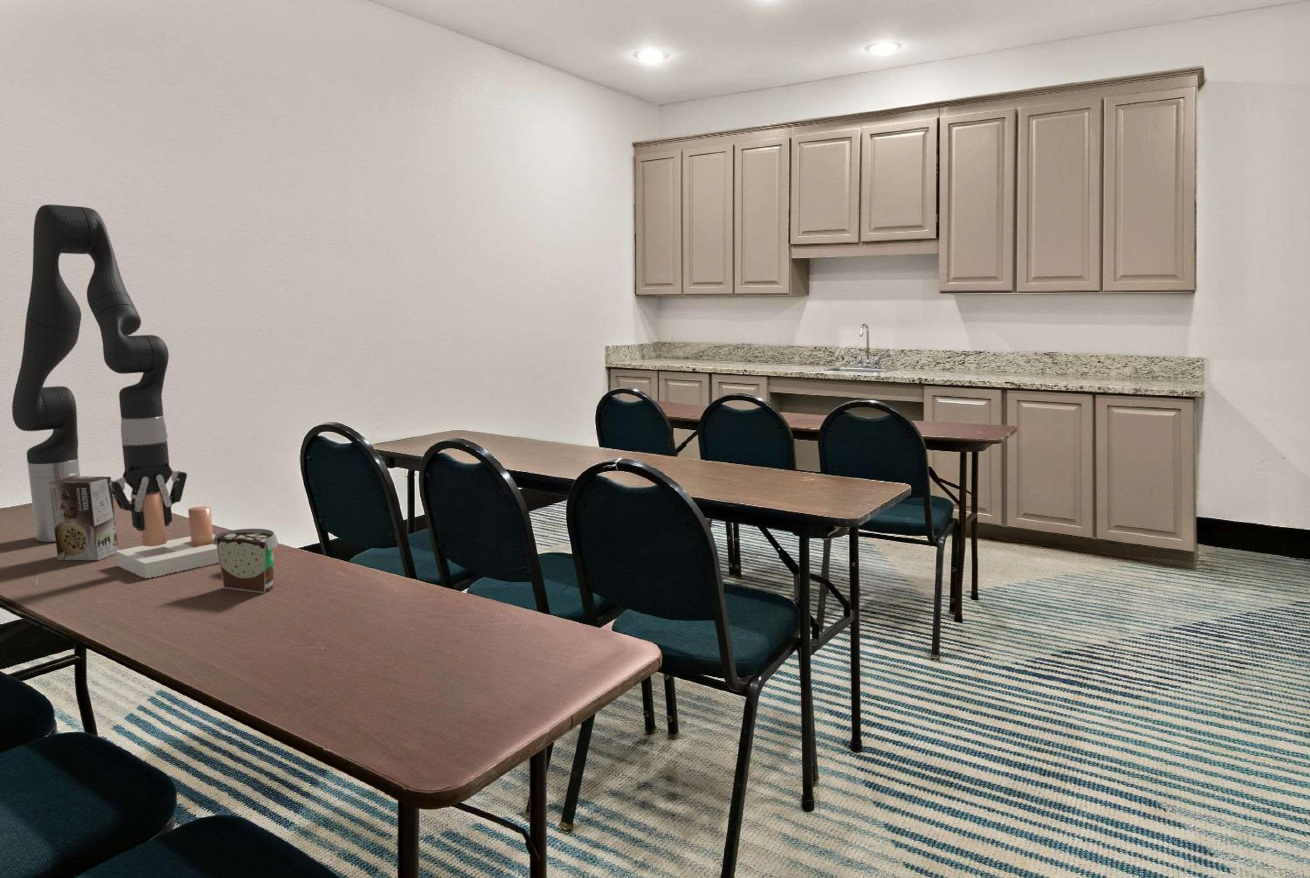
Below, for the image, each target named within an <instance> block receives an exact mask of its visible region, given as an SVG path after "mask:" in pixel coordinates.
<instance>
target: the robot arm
mask: <svg viewBox="0 0 1310 878" xmlns="http://www.w3.org/2000/svg"><path fill="white" fill-rule="evenodd" d="M32 244H33V247H32V249H33V250H32V276H31V284H30V292H29V299H28V305H27V311H26V318H25V325H24V326H25V327H24V335H23V336H24V338H23V339H24V340H23V348H22V349H23V350H22V356H21V357H22V358H21V362H20V368H19V371H18V375H17V381H16V384H15V387H14V392H13V398H12V404H11V413H12V420H13V422H14V425H15V426H16V427H17V428H18V429H19V430H21V431H23V432H40V431H47V430H49V431H50V430H52V433H51V435H50V436H49V437H48V438H47V439H45V440H44V441H41V442H40V443H38V444H36V445H34V446H32V447H30V448H28V450H27V451H26V461H27V469H28V476H29V478H28V479H29V485H30V486H29V487H30V494H31V502H32V503H31V505H32V514H33V521H34V531H35V539H36V541H38V542H44V543H49V542H56V539H55V531H54V523H53V515H52V507H51V499H50V491H49V483H50V482H54V481H57V480H60V479H63V478H67V477H81V473H80V464H79V463H80V462H79V453H78V451H79V450H78V449H79V437H78V434H79V433H78V413H77V409H78V408H77V404H76V403H77V402H76V398H75V396H74V393H73V392H72V390H71V389H69V387H67V386H59V385H56V386H44V384H45V383H46V380H47V378H48V376H49V375H50V374H51V373H52V371H53V370H54V369H55V368H56V367H57V366H58V365H59V364H60V363H61V362H62V361H63V360H64V359H65V358H66V357H67V356H68V355H69V354H70V352H72V350H73V349H74V348H75V346H76V344H77V343H78V340H79V339H78V338H79V335H80V328H81V320H82V311H81V307H80V305H79V303H78V301H77V300H76V297H74V295H73V294H72V291H70V290H69V287H68V286H67V284H66V283H65V281H64V280H63V279H64V278H63V277H62V275H61V273H60V272H61V271H60V268H59V267H60V266H59V261H60V256H61V254H67V255H68V254H69V255H70V254H72V255H74V254H75V255H88V256H89V257H91V259H92V261H93V263H94V268H93V271H92V274H91V277H90V279H89V282H88V285H87V288H86V298H87V299H86V300H87V304H88V306H89V308H90V310H91V313H92V315H93V316H94V319H95V321H96V323H97V324H98V327H99V330H100V335H101V340H102V351H103V359H104V363H105V365H106V366H107V367H108V368H109V370H111V371H113V372H114V373H117V374H122V375H124V374H125V375H126V374H140V373H142V376H141V378H140V379H139V382H137V383H134V384H132V385H128V386H124V387H122V388H121V389H120V391H119V394H118V401H119V410H120V418H121V419H120V420H121V421H120V434H121V435H120V437H121V444H122V445H121V446H122V456H123V466H124V472H123V474H122V477H120V478H117V479H115V480H111V481H109V482H108V486H109V488H110V490H111V492H112V494H113V499H114V500H115V501H116V503H117V505H118V507H119V508H120V509H121V510H123V511H127V512H128V511H130V513H131V521H132V524H131V525H132V527H133V528H135V530H137V531H139V532H142V531H143V530H144V529H145V528H144V517H143V512H142V511H141V509H142V504H143V500H144V499H145V494H147V493H150V492H160V493H161V495H162V500H163V510H164V521H165V527H169V526H170V523H172V521H173V516H172V513H173V512H172V506H173V505H174V504H176V503H180V502H181V500H182V497H183V492H184V489H185V485H186V481H187V477H188V474H187V472H184V471H180V470H177V471H176V470H173V469H172V467H170V458H169V447H168V432H167V426H166V422H165V417H164V410H163V409H164V408H163V397H162V394H163V388H164V383H165V377H166V373H167V369H168V364H169V357H170V356H169V355H170V354H169V348H168V346H167V344H166V343H165V341H164V340H163V339H162V338H161V337H160V336H157V335H155V334H154V335H153V334H144V335H143V334H142V335H140V334H139V335H133V334H134V333H136V332H137V331H138V330H139V329H140V327H141V325H142V320H141V317H140V314H139V312H138V310H137V309H136V306H135V304H134V302H133V301H132V299H131V297H130V294H129V293H128V291H127V288H126V287H125V284H124V281H123V279H122V275H121V272H120V269H119V266H118V262H117V259H116V255H115V251H114V249H113V246H112V241H111V239H110V236H109V232H108V229H107V226H106V225H105V222H104V219H103V218H102V216H101V215H100V214H99V212H98V211H97V210H95V209H94V208H90V207H87V206H86V207H85V206H76V205H65V204H64V205H61V204H43V205H41V206H40V207H39V208H38V209H37V212H36V214H35V217H34V225H33V243H32ZM170 479H171V481H172V486H171V489H170V493H169V491H168V488H167V483H168V482H169V480H170ZM125 484H127V485H128V486H129V487H130V488H131V492H130V502H129V499H128V498H127V495H126V493H125V492H124V490H125Z"/></svg>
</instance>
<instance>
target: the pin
mask: <svg viewBox="0 0 1310 878" xmlns="http://www.w3.org/2000/svg"><path fill="white" fill-rule="evenodd" d="M141 511H142V512H143V517H144V528H145V529H144V530H143V531H141V539H142V546H159V545H163V544H165V543H166V541H167V534H166V526H165V521H164V510H163V500H162V495H161V493H160V492H150V493H147V494H145V499H144V500H143V504H142V509H141Z"/></svg>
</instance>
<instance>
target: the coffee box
mask: <svg viewBox="0 0 1310 878" xmlns="http://www.w3.org/2000/svg"><path fill="white" fill-rule="evenodd" d="M109 481H112V477H111V476H80V477H67V478H63V479H60V480H57V481H54V482H50V483H49V491H50V499H51V507H52V515H53V523H54V531H55V539H56V541H55V546H56V555H57V560H58V561H101V560H102V559H106V558H108V557H111V556H114V555H116V551H118V550H119V545H118V543H119V542H118V536H117V525H116V514H115V504H114V496H113V494H112V492H111V490H110V488H109V486H108V482H109Z"/></svg>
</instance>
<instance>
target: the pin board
mask: <svg viewBox="0 0 1310 878" xmlns="http://www.w3.org/2000/svg"><path fill="white" fill-rule="evenodd" d="M211 508H212V507H211V506H195V507H191V508H188V510H187V512H188V522H189V523H188V524H189V536H185V537H181V538H175V539H170V540H169V539H168V540H166V543H165V544H163V545H159V546H143V545H140V546H139V545H138V546H134V547H129V548H124V549H123V548H122V549H118V551H116V554H115V559H116V560H115V561H116V567H119V568H122V569H123V570H126V571H128V572H129V573H132V574H134V573H135V574H134V575H137V576H139V577H141V578H143V577H144V578H143V579H145V578H146V580H148V579H147V578H150V579H152V578H151V577H154V578H157V576H159V577H161V576H162V575H163V576H167V575H166V574H168V575H170V574H169V573H172V574H174V573H173V572H177V573H180V571H181V572H184V571H183V570H185V571H188V570H189V569H190V570H194V569H197V567H199V568H203V567H208V566H211V565H215V564H216V563H217V564H219V558H218V551H217V545H214V537H215V533H213V524H212V523H213V522H212V511H211V510H212V509H211ZM193 568H194V569H193ZM190 570H189V571H190Z"/></svg>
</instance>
